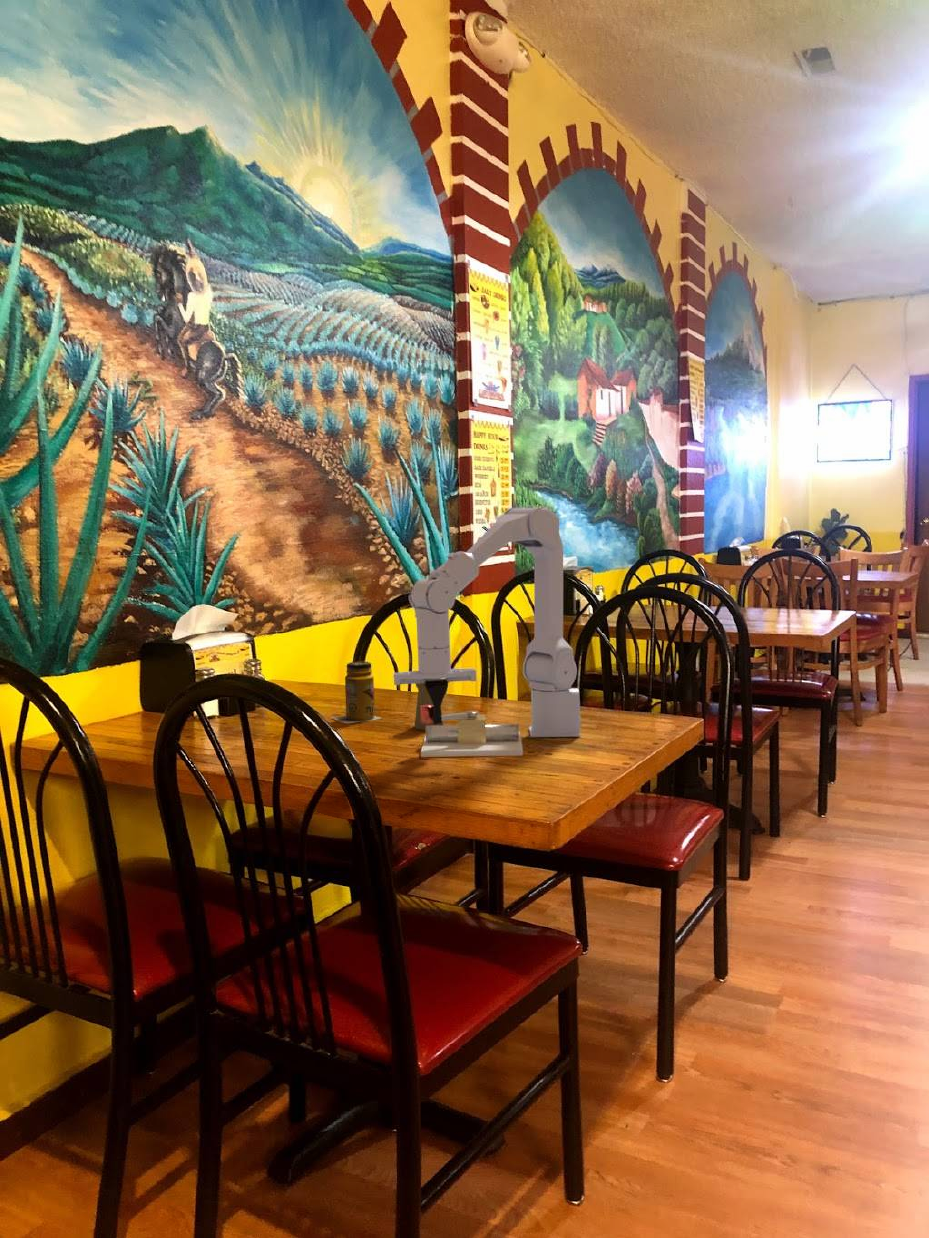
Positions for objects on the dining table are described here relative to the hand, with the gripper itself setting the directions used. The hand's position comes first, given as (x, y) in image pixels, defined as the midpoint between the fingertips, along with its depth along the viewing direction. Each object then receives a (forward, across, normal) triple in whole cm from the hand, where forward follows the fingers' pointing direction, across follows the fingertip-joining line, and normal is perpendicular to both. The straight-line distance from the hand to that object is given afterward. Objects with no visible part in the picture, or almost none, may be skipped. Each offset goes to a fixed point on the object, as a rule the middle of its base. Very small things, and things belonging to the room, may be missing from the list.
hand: (436, 722), depth 172 cm
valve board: (+6, -7, -5) cm, 10 cm away
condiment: (+6, +15, -35) cm, 38 cm away
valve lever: (0, -3, -4) cm, 4 cm away
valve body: (+6, -7, -5) cm, 10 cm away
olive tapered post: (+6, 0, -24) cm, 25 cm away
